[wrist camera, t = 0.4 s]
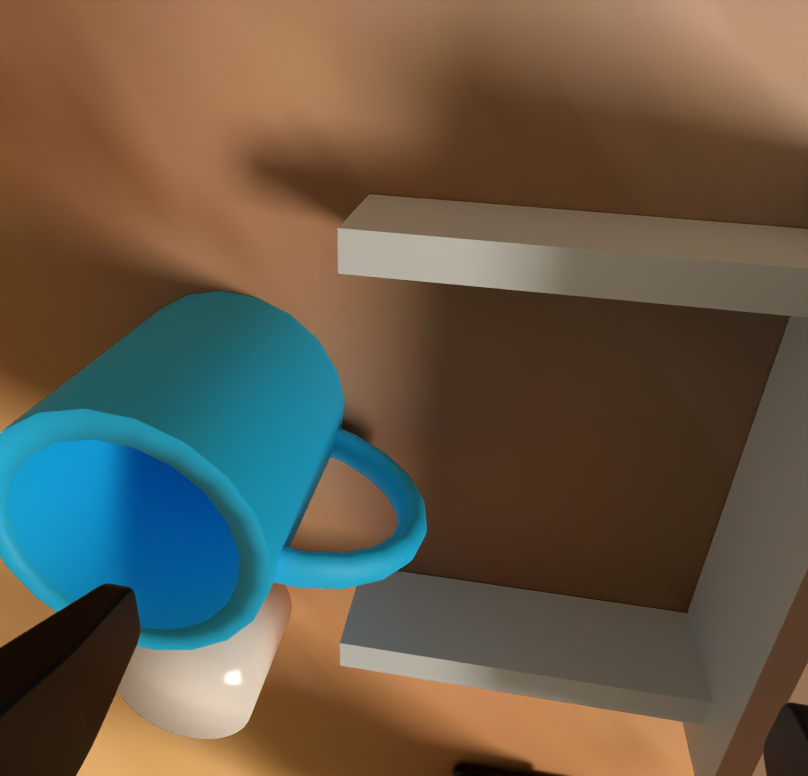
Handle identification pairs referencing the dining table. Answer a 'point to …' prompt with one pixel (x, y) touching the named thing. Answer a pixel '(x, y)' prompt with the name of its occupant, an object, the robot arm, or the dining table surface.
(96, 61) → the dining table surface
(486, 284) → the counter bay
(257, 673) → the cream rounded cylinder
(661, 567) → the dining table surface
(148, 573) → the mug
